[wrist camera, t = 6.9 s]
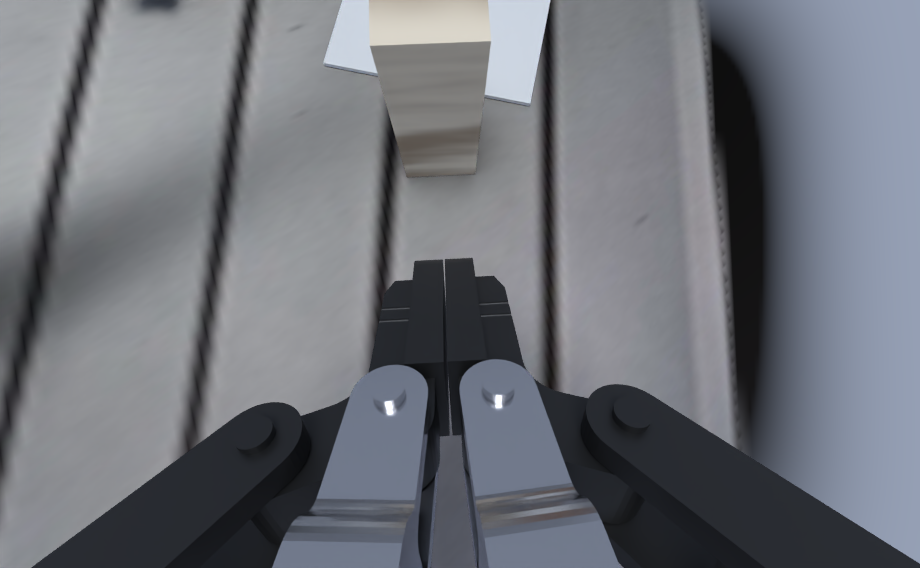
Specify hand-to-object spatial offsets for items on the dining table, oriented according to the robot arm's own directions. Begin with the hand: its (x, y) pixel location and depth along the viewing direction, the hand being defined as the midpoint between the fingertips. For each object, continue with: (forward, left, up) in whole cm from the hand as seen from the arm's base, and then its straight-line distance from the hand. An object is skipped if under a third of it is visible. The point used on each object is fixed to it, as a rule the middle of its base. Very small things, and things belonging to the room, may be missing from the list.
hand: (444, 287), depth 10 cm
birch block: (+13, +4, -15) cm, 20 cm away
